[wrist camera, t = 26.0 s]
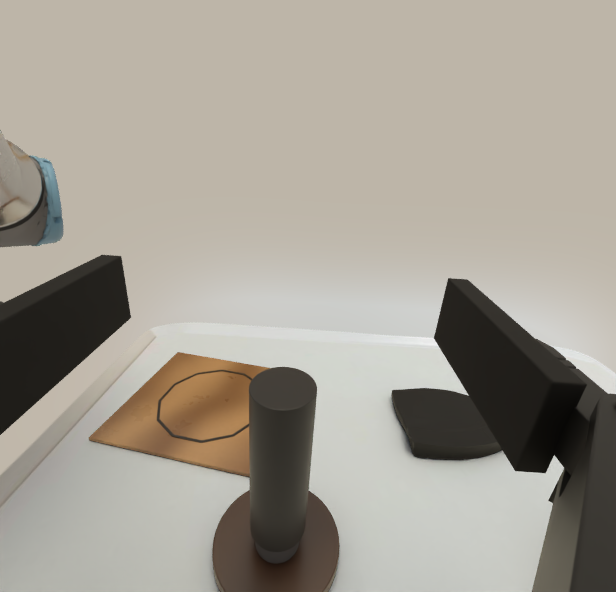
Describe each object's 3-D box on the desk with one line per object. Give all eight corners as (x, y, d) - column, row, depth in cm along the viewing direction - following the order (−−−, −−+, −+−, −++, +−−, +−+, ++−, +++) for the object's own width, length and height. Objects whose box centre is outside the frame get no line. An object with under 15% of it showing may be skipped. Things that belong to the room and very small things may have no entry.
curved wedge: (562, 464, 30) (569, 450, 29) (409, 458, 30) (412, 444, 29) (510, 400, 38) (514, 388, 37) (387, 394, 37) (390, 382, 37)
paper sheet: (89, 440, 29) (88, 437, 29) (178, 354, 42) (177, 351, 42) (268, 481, 27) (268, 478, 27) (305, 376, 39) (305, 373, 39)
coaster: (188, 603, 19) (187, 593, 19) (241, 481, 27) (241, 472, 26) (328, 645, 18) (329, 635, 18) (344, 505, 25) (345, 495, 25)
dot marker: (242, 561, 21) (238, 402, 16) (260, 508, 24) (261, 362, 19) (297, 576, 20) (309, 416, 15) (308, 520, 23) (321, 372, 18)
